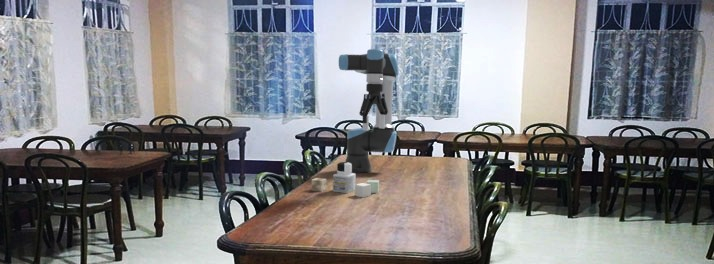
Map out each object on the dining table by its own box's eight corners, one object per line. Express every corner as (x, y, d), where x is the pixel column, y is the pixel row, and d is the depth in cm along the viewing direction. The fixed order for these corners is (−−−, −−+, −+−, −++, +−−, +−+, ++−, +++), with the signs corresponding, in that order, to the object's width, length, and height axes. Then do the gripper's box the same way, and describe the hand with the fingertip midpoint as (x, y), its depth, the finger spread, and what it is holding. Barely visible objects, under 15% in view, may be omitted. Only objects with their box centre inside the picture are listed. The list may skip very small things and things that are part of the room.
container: (332, 191, 236) (332, 163, 235) (341, 188, 243) (341, 160, 241) (347, 193, 232) (347, 164, 231) (355, 190, 239) (356, 162, 238)
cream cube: (354, 195, 229) (354, 184, 228) (363, 193, 232) (363, 182, 232) (362, 197, 225) (362, 186, 225) (370, 195, 229) (371, 184, 228)
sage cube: (366, 192, 234) (366, 181, 234) (368, 190, 239) (368, 179, 239) (377, 193, 234) (378, 182, 233) (378, 190, 239) (379, 180, 238)
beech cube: (311, 190, 238) (311, 179, 237) (316, 188, 242) (316, 177, 242) (321, 191, 236) (321, 180, 235) (326, 189, 240) (326, 178, 240)
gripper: (366, 83, 228) (365, 131, 230) (395, 83, 248) (394, 128, 250) (352, 83, 232) (351, 130, 234) (382, 83, 252) (381, 127, 254)
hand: (373, 129), depth 242 cm, fingers open, 13 cm apart
